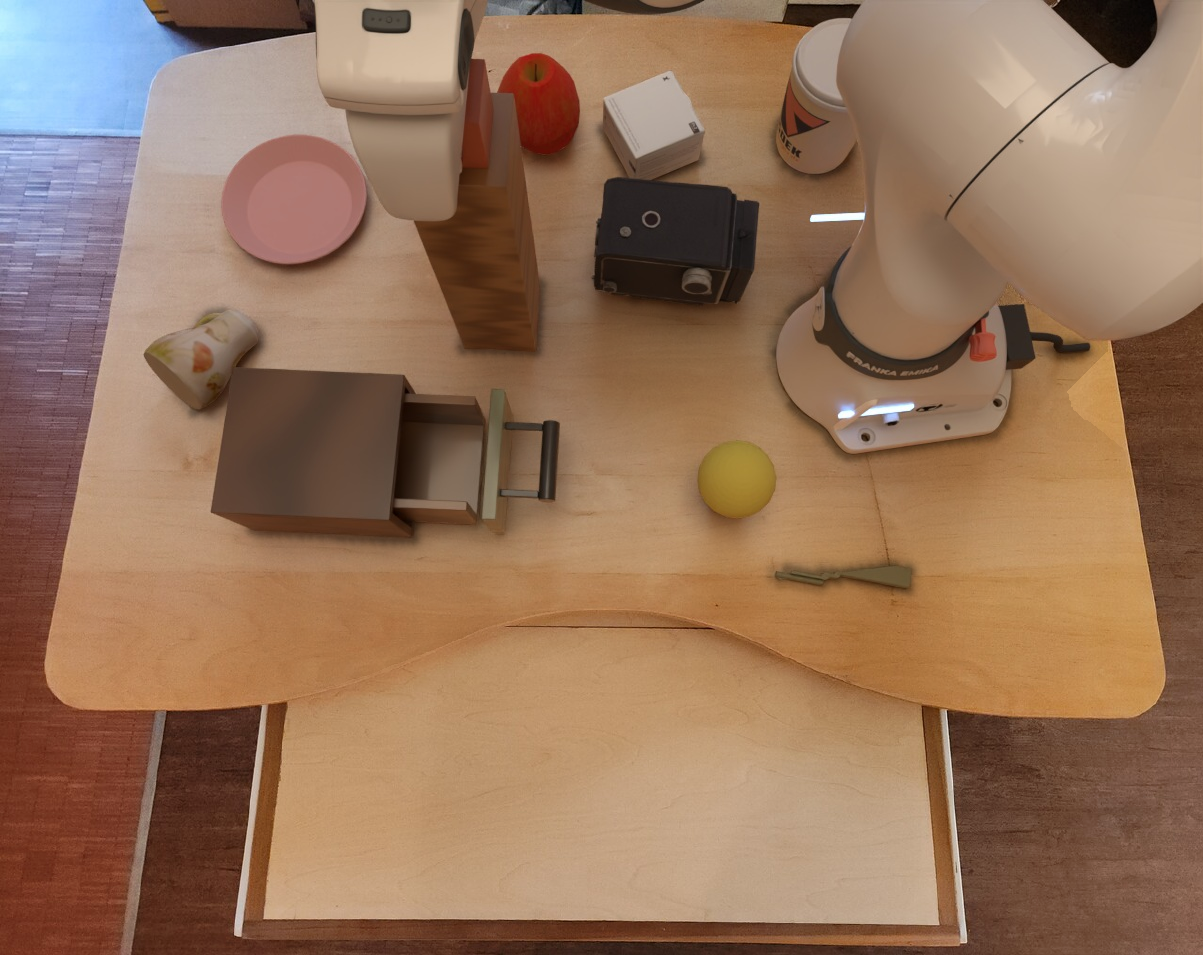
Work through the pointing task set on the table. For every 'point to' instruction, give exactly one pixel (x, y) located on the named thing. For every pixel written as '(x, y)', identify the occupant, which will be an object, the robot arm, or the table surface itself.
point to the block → (477, 117)
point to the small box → (653, 127)
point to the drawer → (464, 460)
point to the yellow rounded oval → (736, 479)
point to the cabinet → (311, 452)
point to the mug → (202, 356)
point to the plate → (294, 199)
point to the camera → (674, 241)
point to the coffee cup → (816, 104)
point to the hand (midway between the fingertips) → (453, 124)
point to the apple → (542, 102)
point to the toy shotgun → (857, 576)
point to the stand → (490, 246)
